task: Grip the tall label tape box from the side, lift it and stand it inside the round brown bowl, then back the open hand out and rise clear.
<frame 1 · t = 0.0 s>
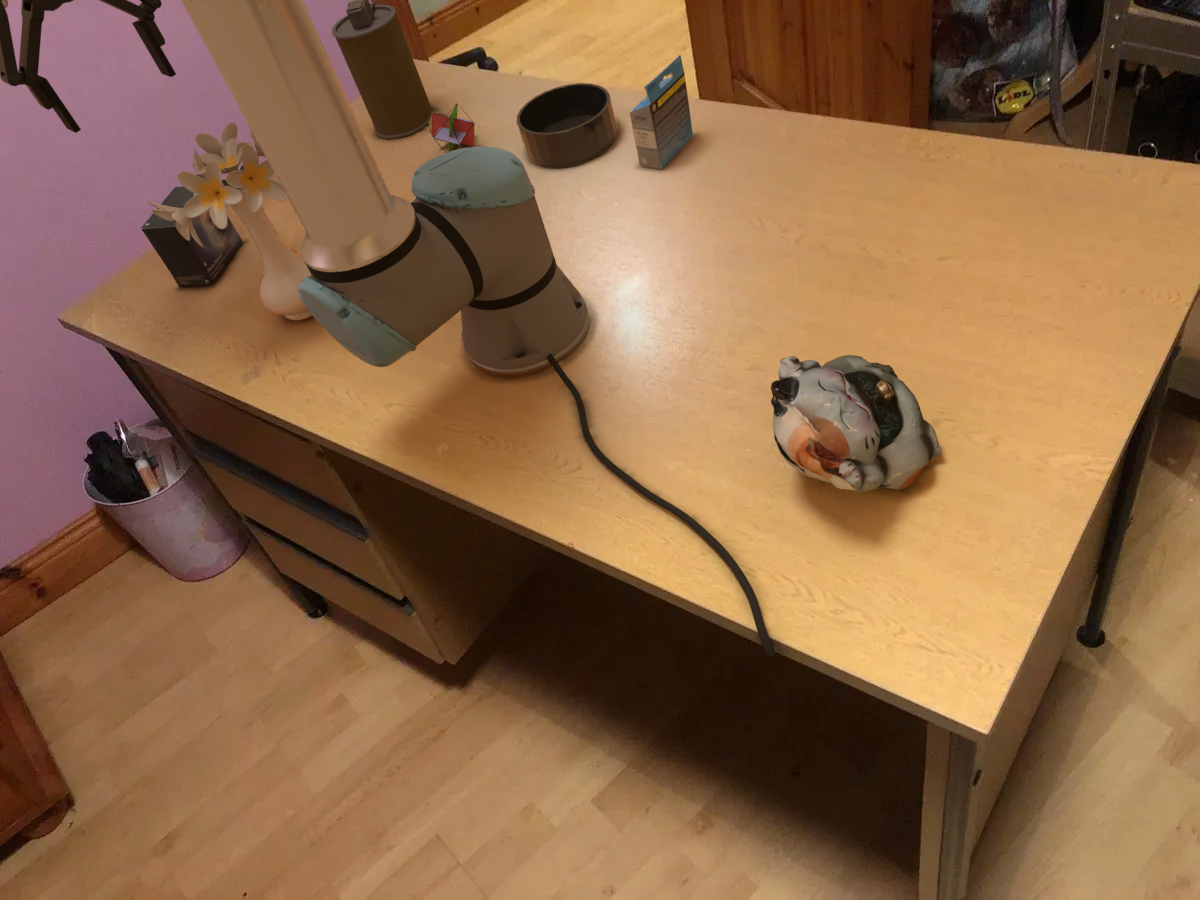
hand: (122, 101, 116), 28 cm above the table, tool pointing down, fingers open, 13 cm apart
round brown bowl: (572, 141, 141), on the table
flower vase: (305, 310, 127), on the table
label tape box: (668, 152, 133), on the table
geometric puzzle: (460, 149, 148), on the table
canister: (405, 122, 159), on the table
lucky cat figurine: (855, 461, 89), on the table
small box: (213, 265, 141), on the table
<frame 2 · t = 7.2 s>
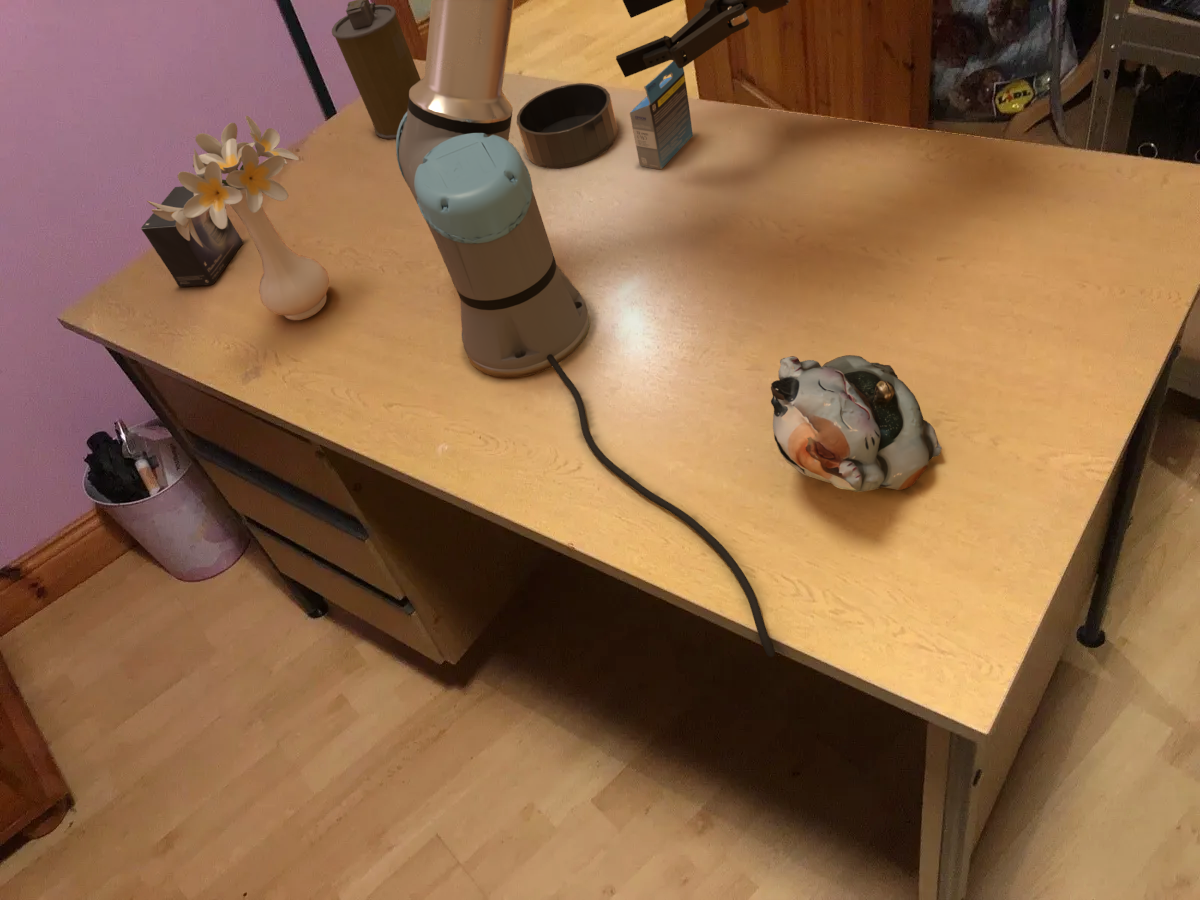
hand: (623, 36, 122), 17 cm above the table, tool horizontal, fingers open, 13 cm apart
nothing on the table moved.
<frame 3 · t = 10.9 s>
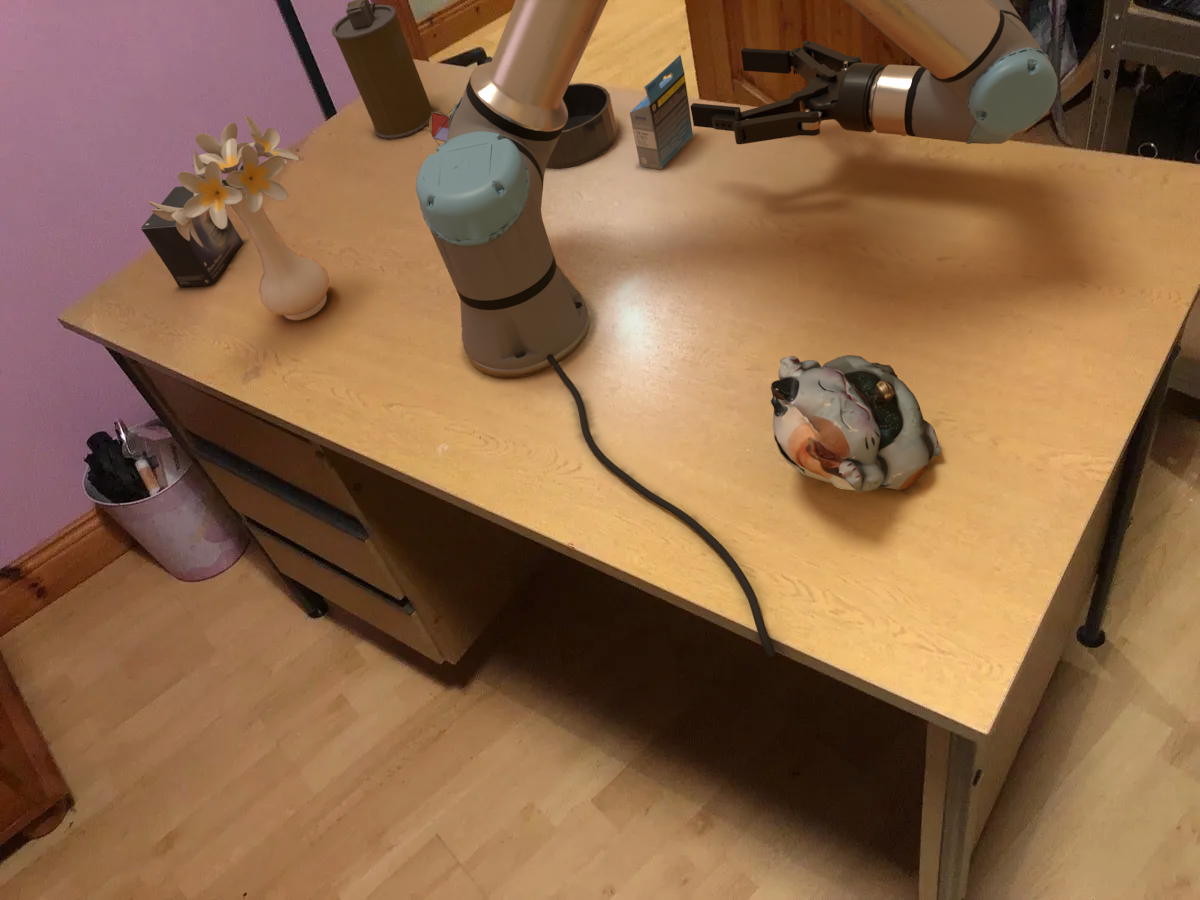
hand: (718, 86, 121), 11 cm above the table, tool horizontal, fingers open, 13 cm apart
nothing on the table moved.
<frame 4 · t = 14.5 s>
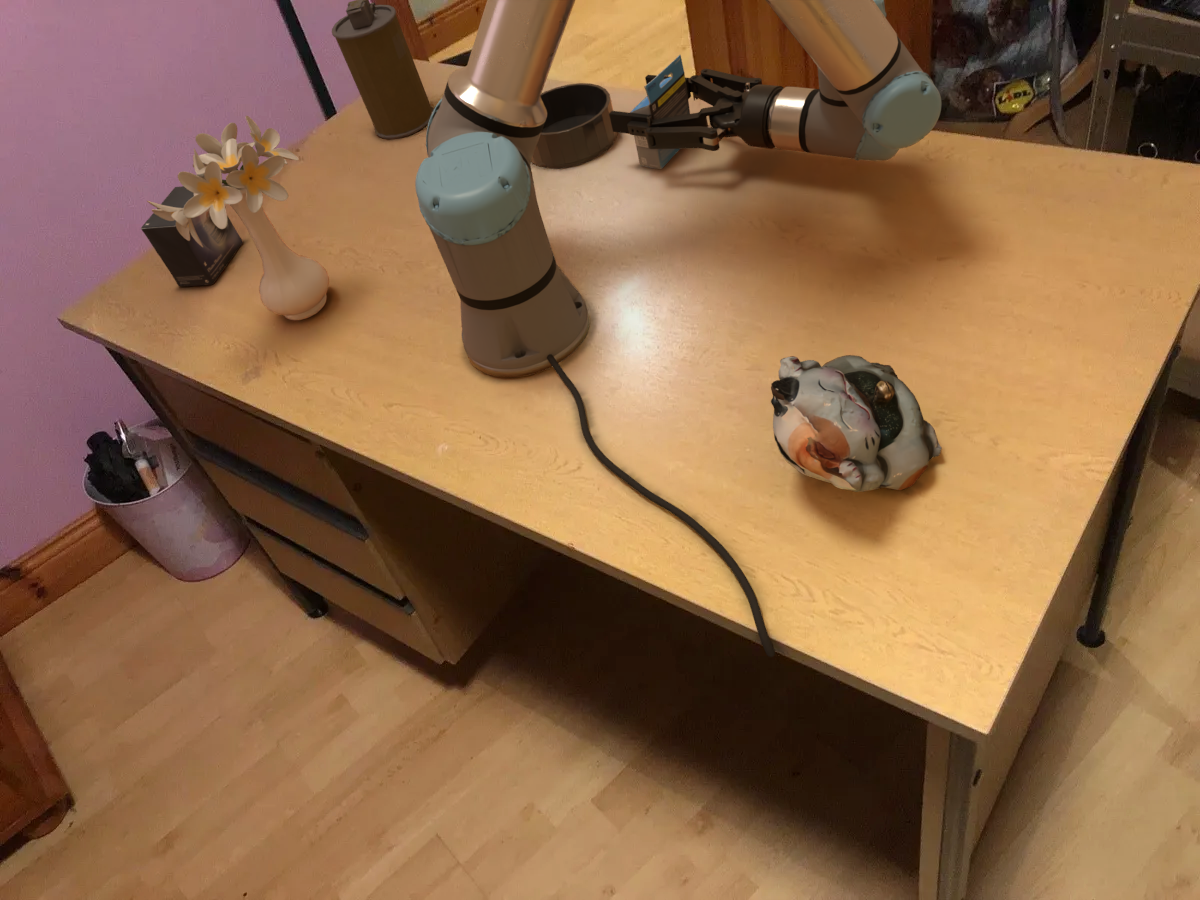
hand: (630, 102, 130), 7 cm above the table, tool horizontal, fingers closed on label tape box, 9 cm apart
label tape box: (668, 152, 133), on the table, touching gripper
everything else where it was.
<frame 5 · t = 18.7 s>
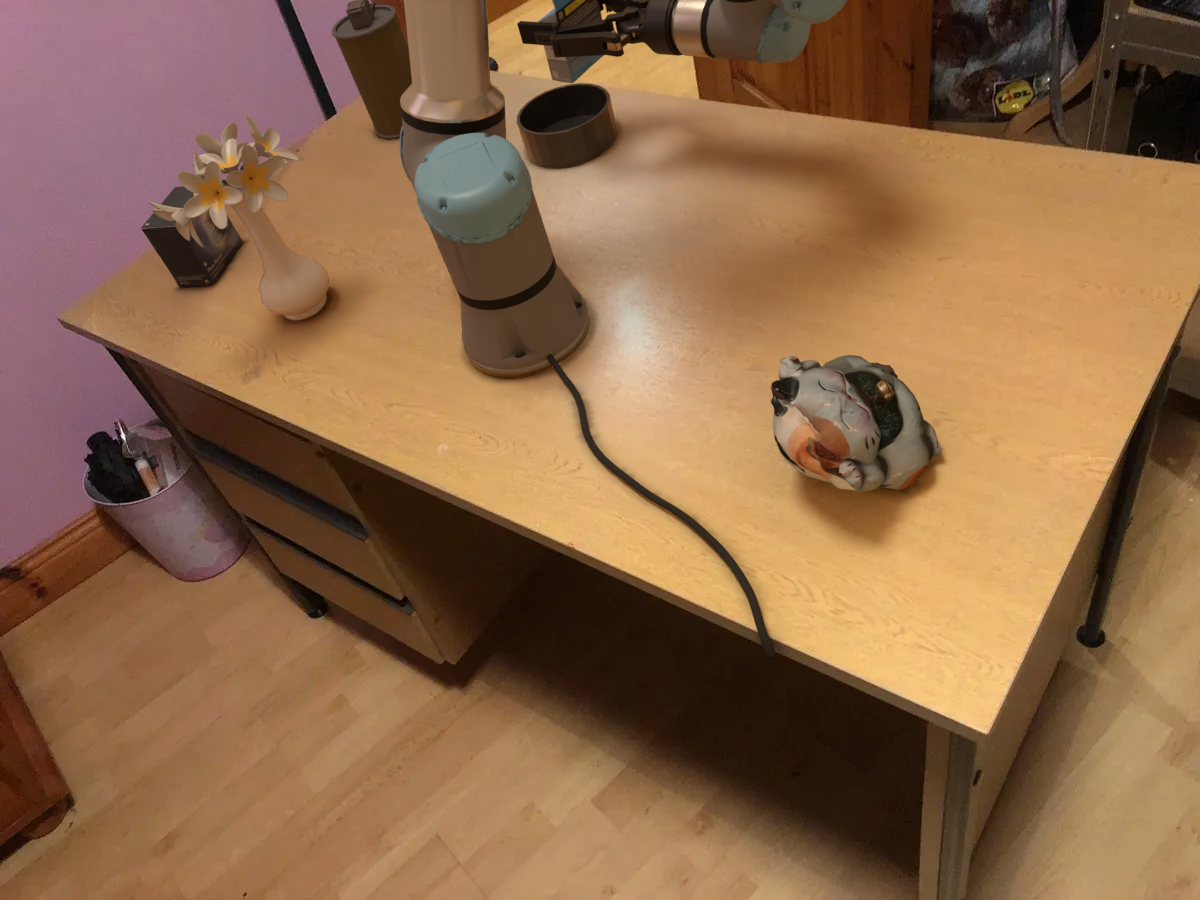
hand: (542, 15, 128), 19 cm above the table, tool horizontal, fingers closed on label tape box, 9 cm apart
label tape box: (582, 68, 130), point 12 cm above the table, touching gripper
everything else where it was.
when the fingers open (8 cm above the table, at t = 23.0 s): label tape box stays where it is, resting on round brown bowl.
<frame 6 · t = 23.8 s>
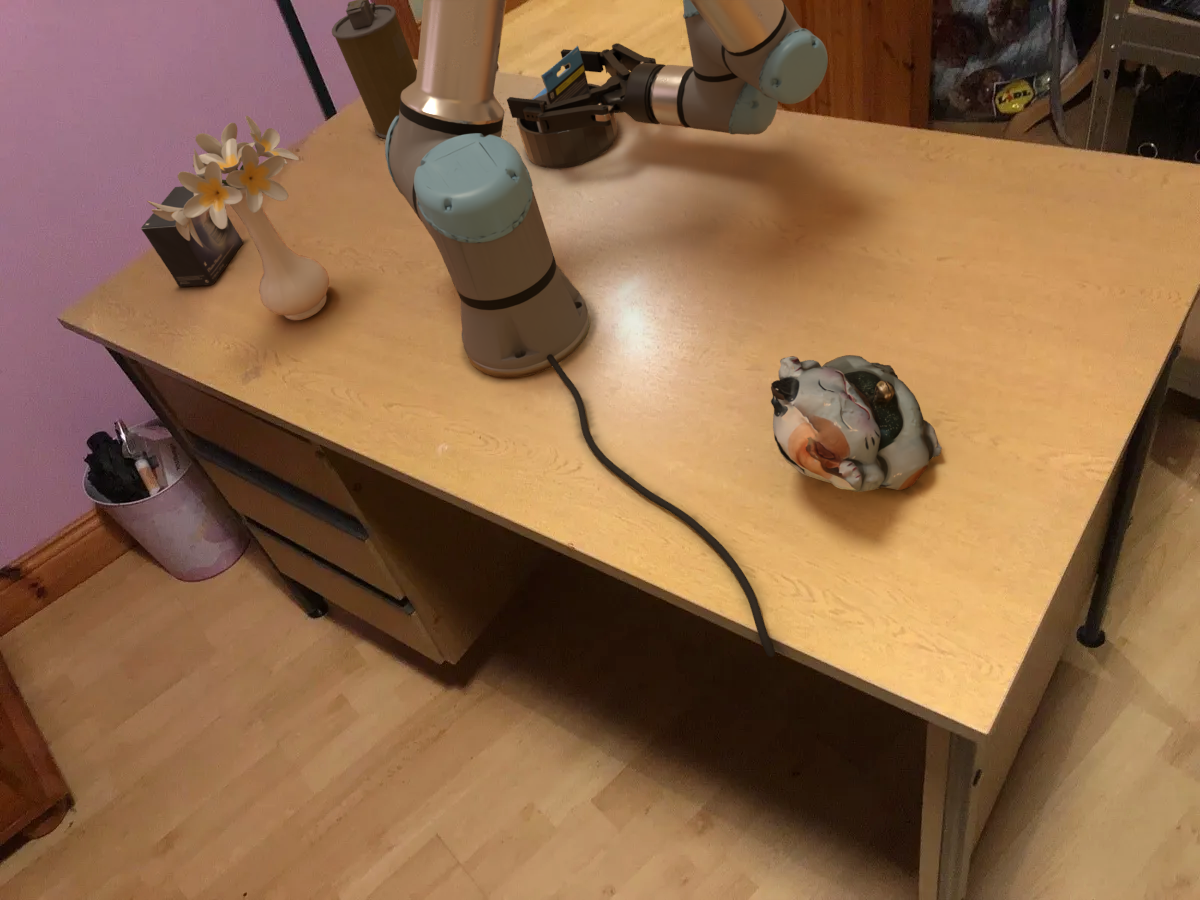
hand: (537, 82, 136), 9 cm above the table, tool horizontal, fingers open, 13 cm apart
label tape box: (572, 139, 141), resting on round brown bowl
everything else where it was.
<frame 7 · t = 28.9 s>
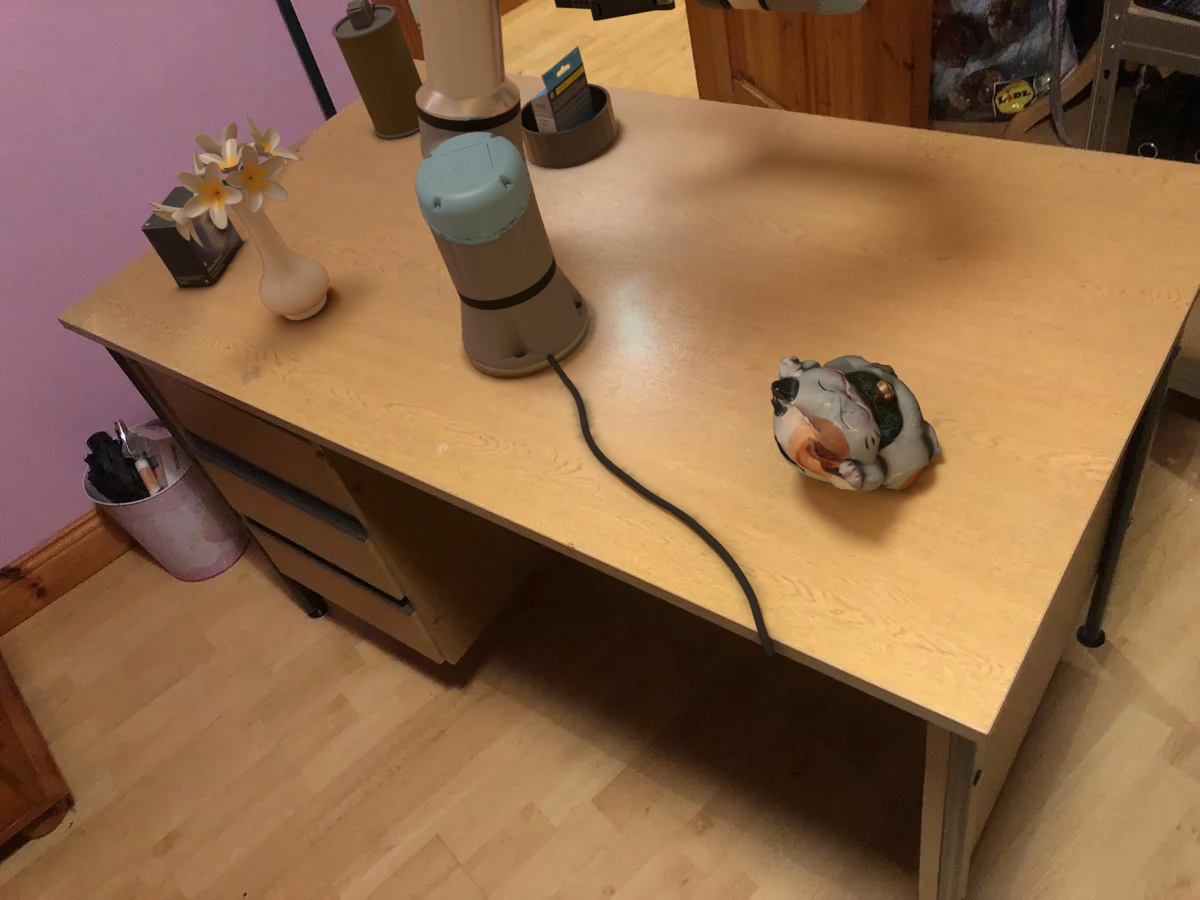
nothing on the table moved.
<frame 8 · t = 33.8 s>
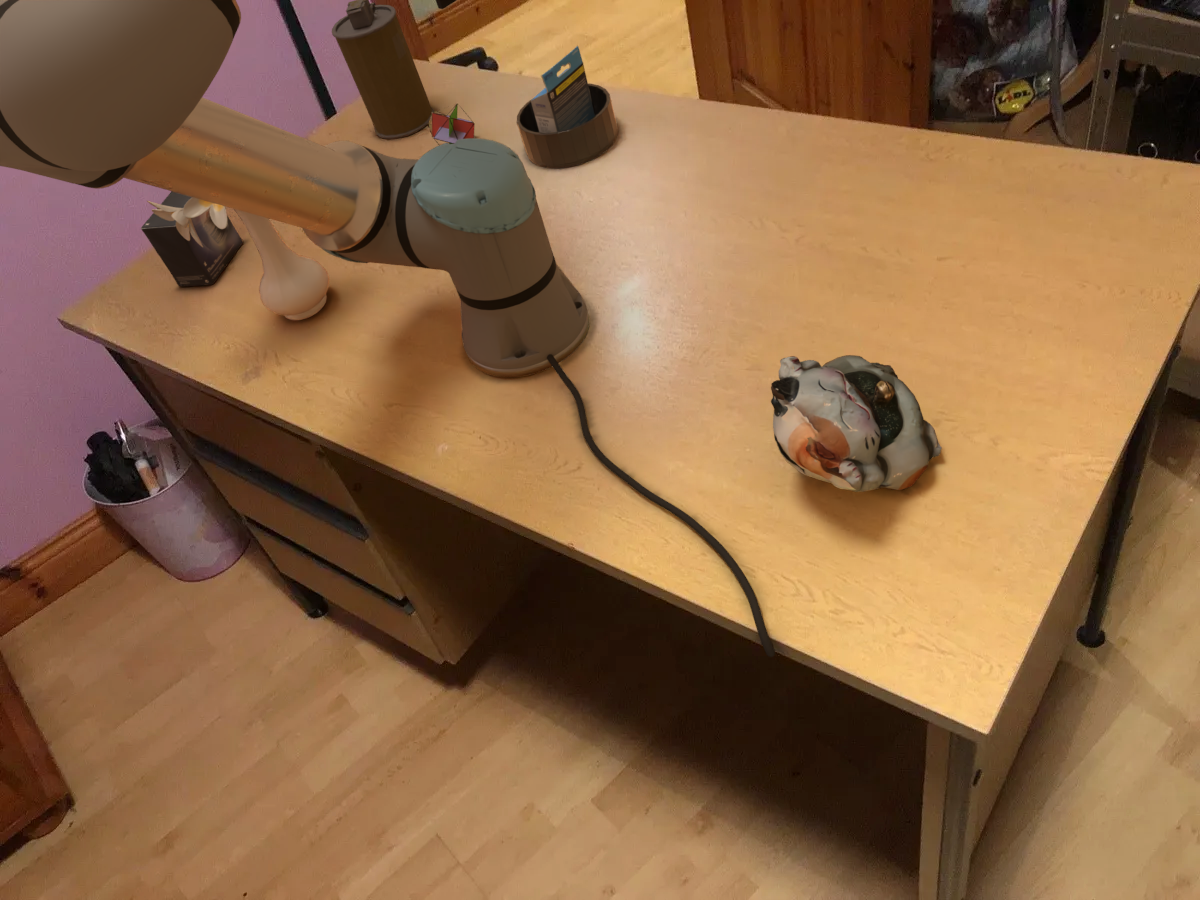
nothing on the table moved.
at the end: label tape box inside the target area in the round brown bowl (0.1 cm from its centre), point 0.4 cm above the round brown bowl's base; label tape box tilted 0°; the gripper is holding nothing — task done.
